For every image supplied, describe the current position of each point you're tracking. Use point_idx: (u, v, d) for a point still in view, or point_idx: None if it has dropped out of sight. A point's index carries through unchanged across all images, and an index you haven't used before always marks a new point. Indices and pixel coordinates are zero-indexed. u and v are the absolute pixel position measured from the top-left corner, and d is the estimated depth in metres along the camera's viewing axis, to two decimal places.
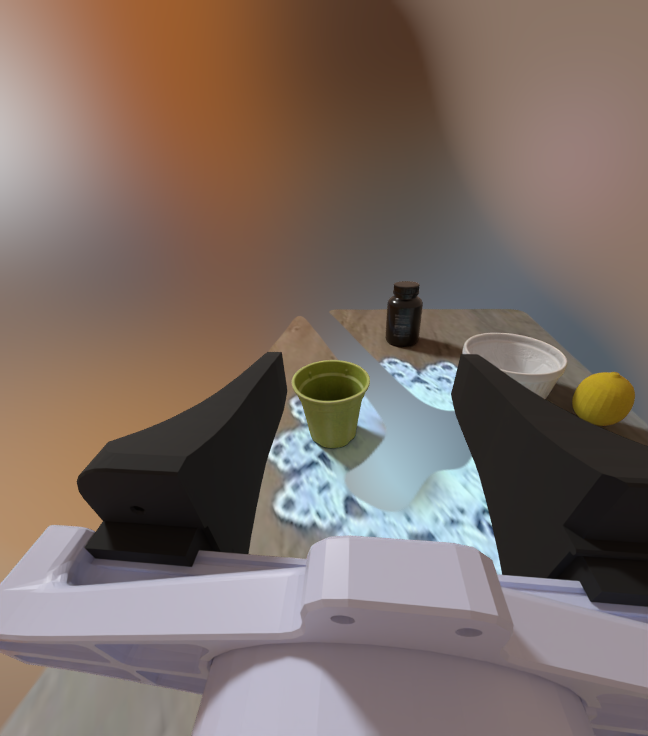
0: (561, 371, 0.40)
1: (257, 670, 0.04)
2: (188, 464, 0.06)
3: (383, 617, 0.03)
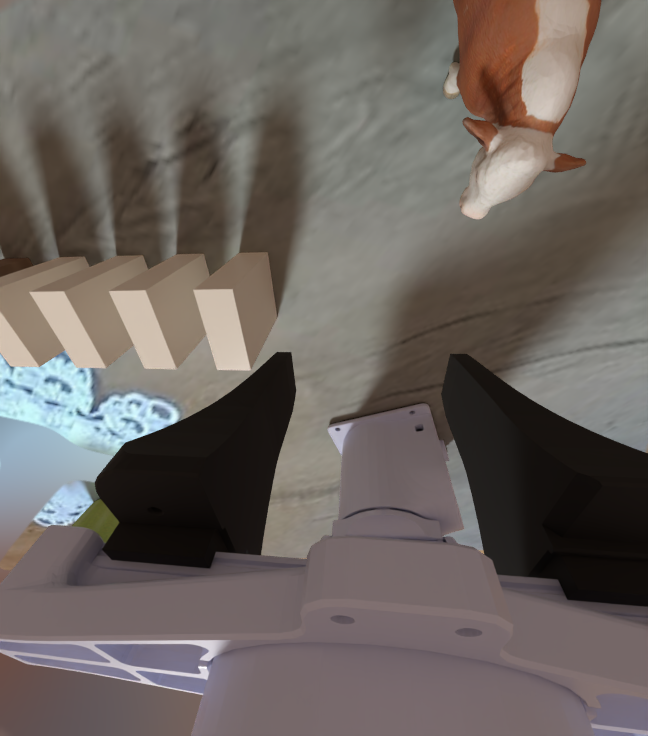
0: None
1: (257, 668, 0.04)
2: (207, 465, 0.06)
3: (383, 617, 0.03)
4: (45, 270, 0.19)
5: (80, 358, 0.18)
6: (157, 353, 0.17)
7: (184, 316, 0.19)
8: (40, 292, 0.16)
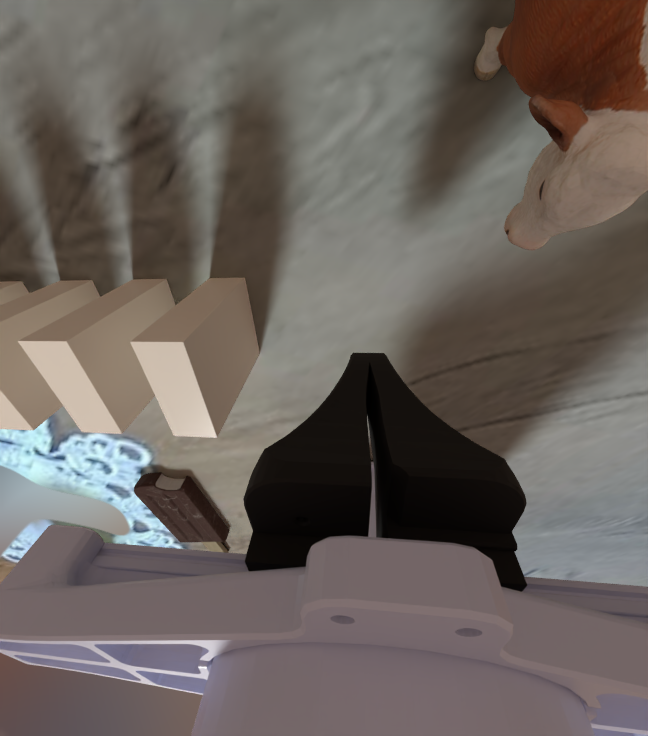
0: None
1: (257, 669, 0.04)
2: None
3: (383, 617, 0.03)
4: None
5: None
6: (94, 415, 0.13)
7: (135, 363, 0.15)
8: None
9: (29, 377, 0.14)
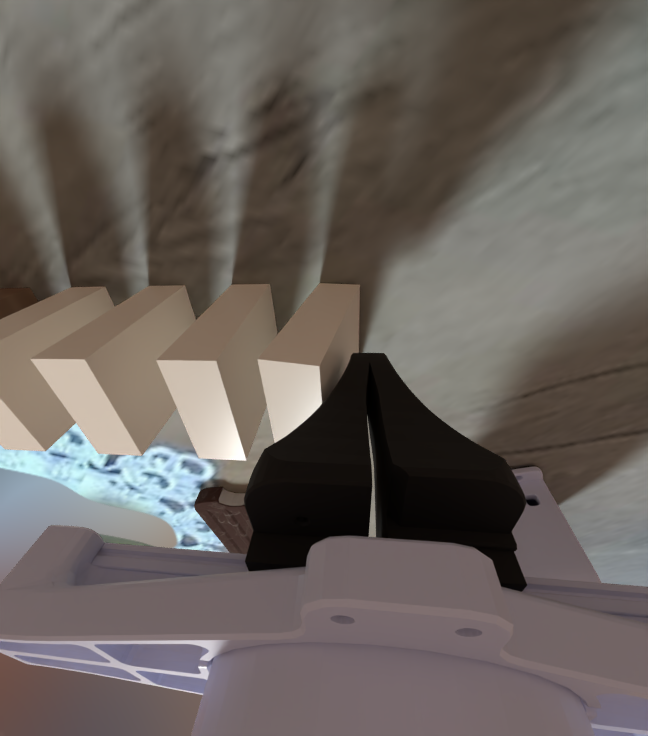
0: None
1: (256, 669, 0.04)
2: None
3: (383, 617, 0.03)
4: (53, 312, 0.14)
5: (105, 443, 0.12)
6: (220, 441, 0.12)
7: (253, 379, 0.13)
8: (48, 360, 0.10)
9: (139, 396, 0.12)
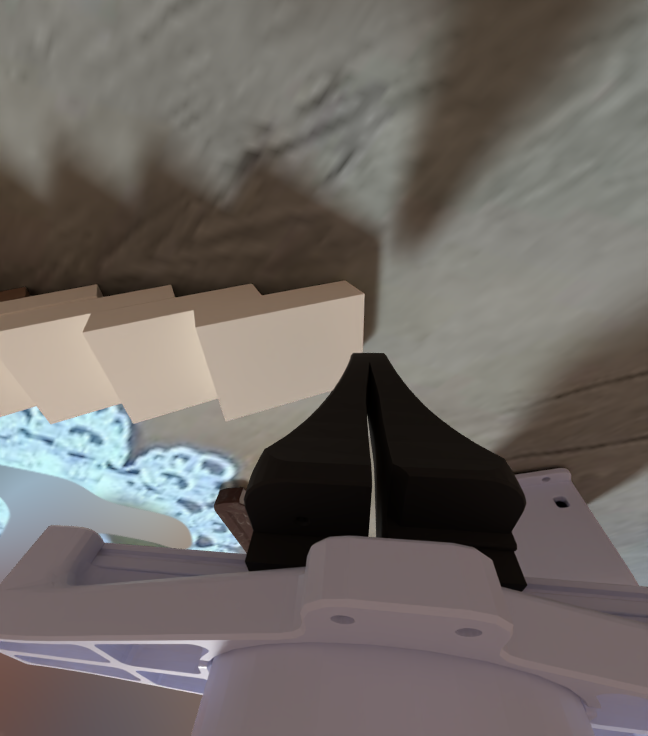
0: None
1: (257, 669, 0.04)
2: None
3: (383, 617, 0.03)
4: (12, 311, 0.13)
5: None
6: None
7: (174, 371, 0.14)
8: None
9: (56, 379, 0.14)
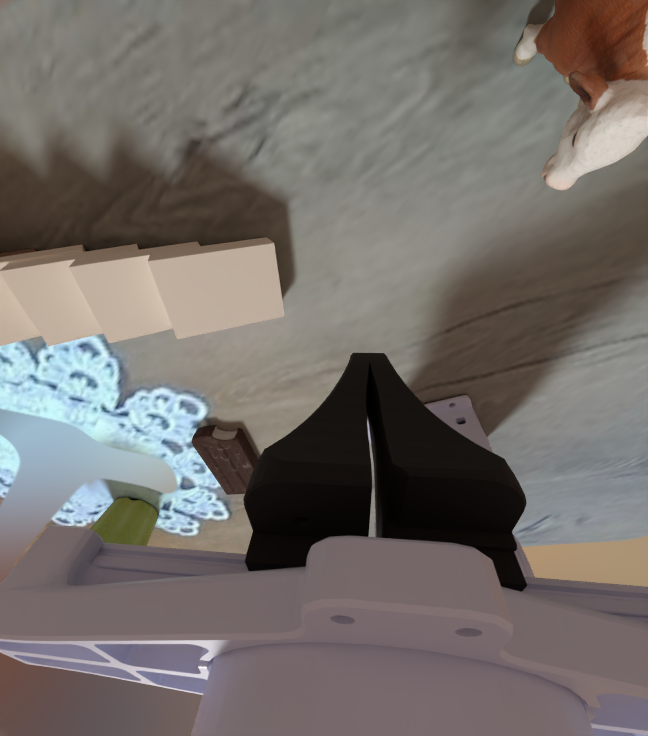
0: None
1: (257, 669, 0.04)
2: None
3: (383, 617, 0.03)
4: (21, 259, 0.18)
5: None
6: None
7: (137, 302, 0.19)
8: (5, 266, 0.18)
9: (52, 310, 0.19)
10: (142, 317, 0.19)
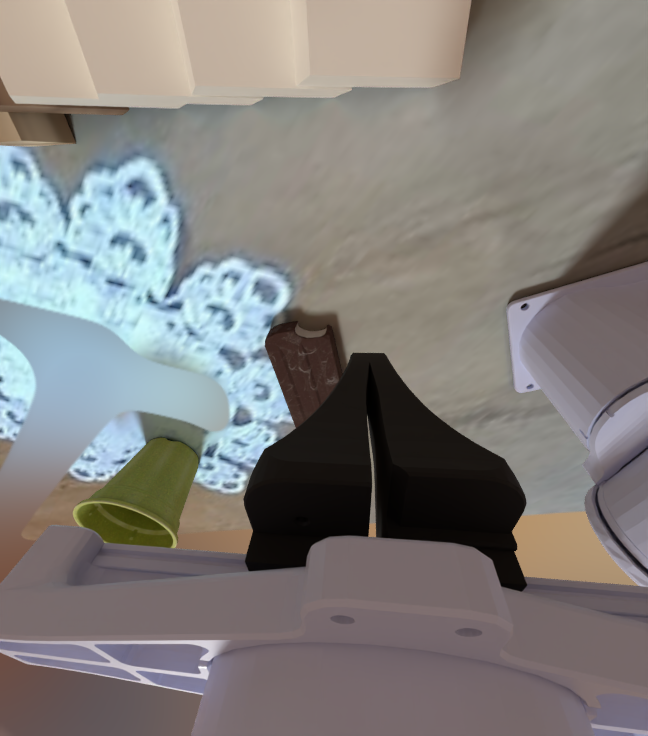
0: None
1: (257, 670, 0.04)
2: None
3: (383, 617, 0.03)
4: None
5: None
6: (185, 53, 0.12)
7: (247, 9, 0.11)
8: None
9: (107, 16, 0.11)
10: (249, 46, 0.12)
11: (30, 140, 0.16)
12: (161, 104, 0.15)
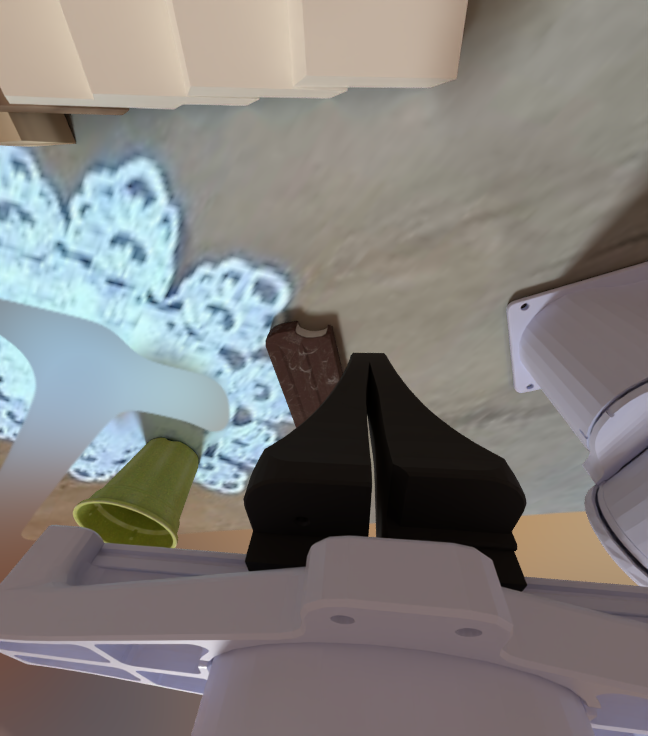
0: None
1: (257, 670, 0.04)
2: None
3: (383, 617, 0.03)
4: None
5: (86, 78, 0.13)
6: (181, 54, 0.12)
7: (242, 10, 0.11)
8: None
9: (102, 17, 0.11)
10: (244, 47, 0.12)
11: (30, 140, 0.16)
12: (157, 105, 0.15)
